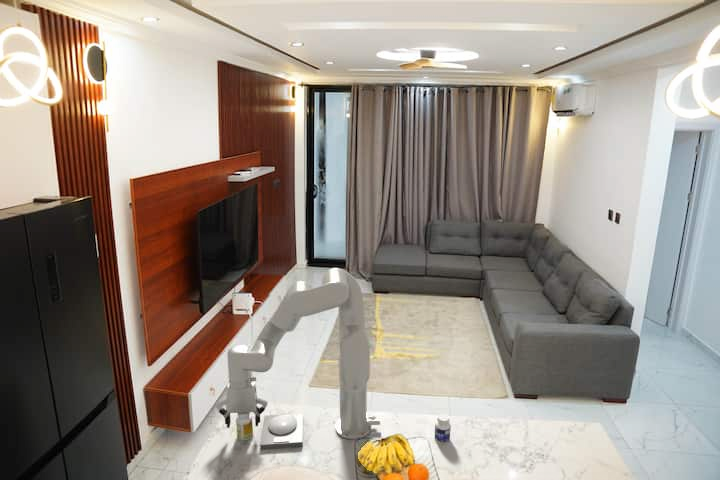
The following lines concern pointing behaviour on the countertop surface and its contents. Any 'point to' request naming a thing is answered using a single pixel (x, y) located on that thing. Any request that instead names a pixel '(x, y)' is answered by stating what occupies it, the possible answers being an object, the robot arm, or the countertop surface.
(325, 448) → the countertop surface
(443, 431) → the pill bottle
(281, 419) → the scale
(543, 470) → the countertop surface
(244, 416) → the supplement bottle
